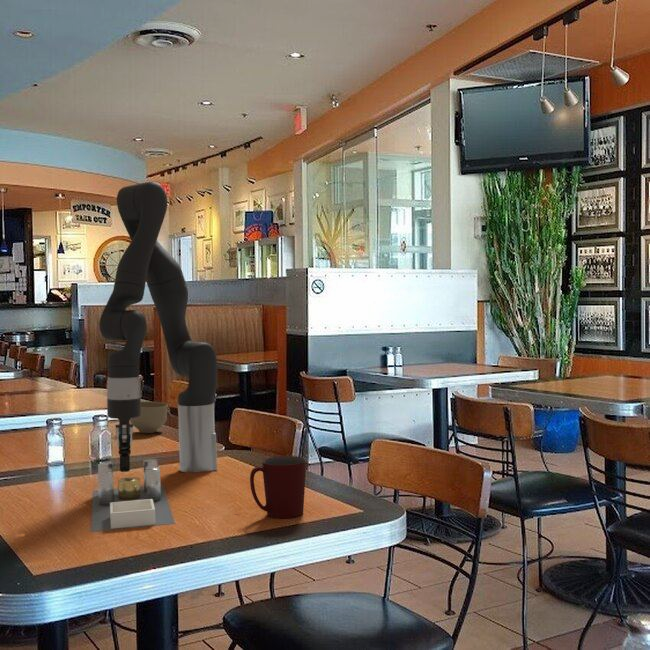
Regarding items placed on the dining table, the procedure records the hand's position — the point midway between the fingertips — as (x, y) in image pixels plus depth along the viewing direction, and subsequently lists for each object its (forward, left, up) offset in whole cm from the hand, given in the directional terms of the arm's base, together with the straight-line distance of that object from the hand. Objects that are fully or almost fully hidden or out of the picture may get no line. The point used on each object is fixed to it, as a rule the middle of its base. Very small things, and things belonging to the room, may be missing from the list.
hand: (124, 471), depth 187 cm
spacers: (-1, +7, -5) cm, 8 cm away
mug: (-30, +31, -5) cm, 43 cm away
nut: (-1, +7, -5) cm, 8 cm away
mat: (-1, +15, -5) cm, 15 cm away
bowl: (-10, -81, -5) cm, 82 cm away
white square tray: (-1, +27, -5) cm, 27 cm away
